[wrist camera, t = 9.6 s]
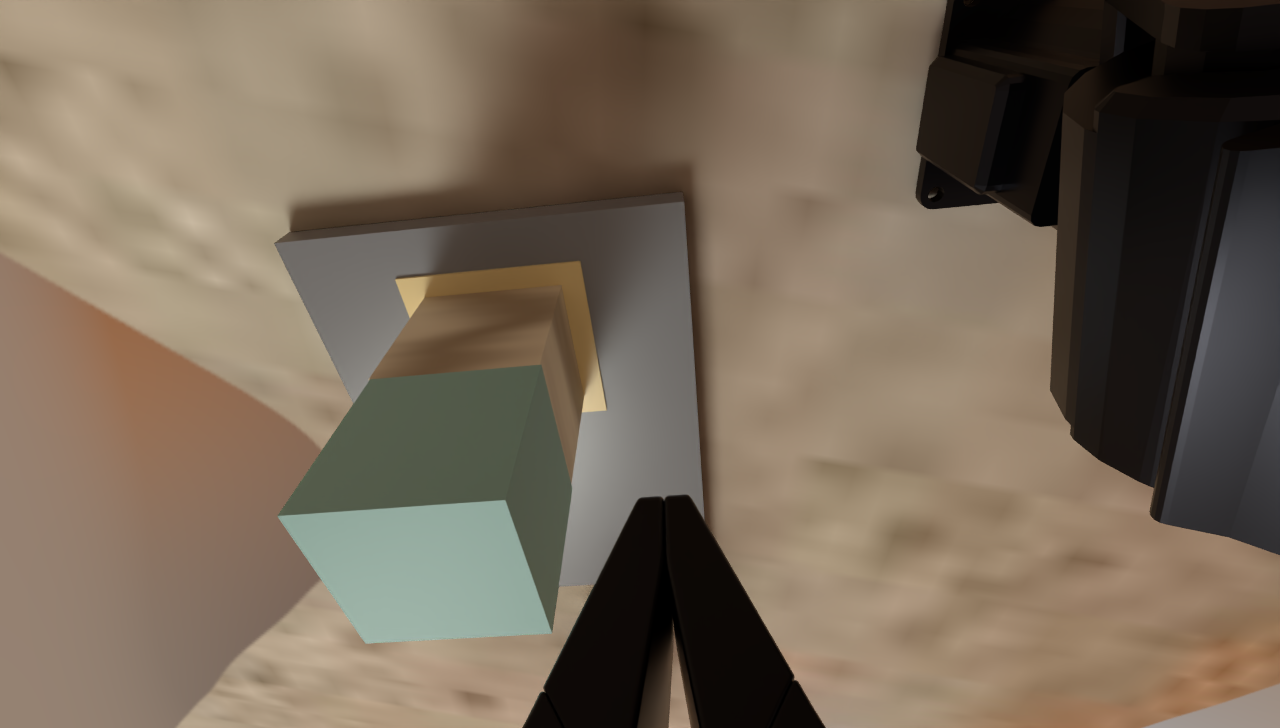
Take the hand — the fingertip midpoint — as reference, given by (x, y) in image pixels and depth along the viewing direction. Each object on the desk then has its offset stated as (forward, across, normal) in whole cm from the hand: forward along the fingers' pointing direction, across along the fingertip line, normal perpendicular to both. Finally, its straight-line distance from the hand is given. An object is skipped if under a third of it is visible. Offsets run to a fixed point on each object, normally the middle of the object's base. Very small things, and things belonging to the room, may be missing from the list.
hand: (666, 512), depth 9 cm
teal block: (+7, +6, +4) cm, 10 cm away
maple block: (+12, +6, +4) cm, 14 cm away
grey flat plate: (+13, +6, +9) cm, 17 cm away
